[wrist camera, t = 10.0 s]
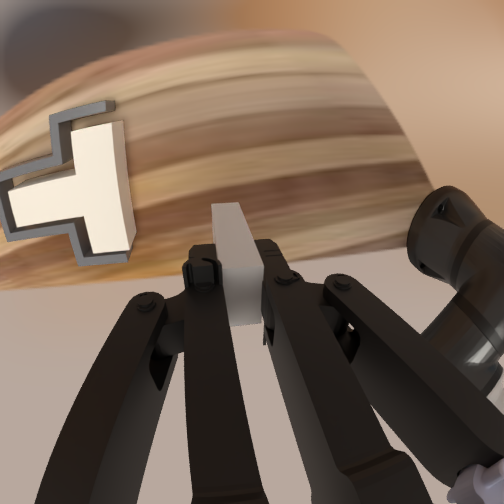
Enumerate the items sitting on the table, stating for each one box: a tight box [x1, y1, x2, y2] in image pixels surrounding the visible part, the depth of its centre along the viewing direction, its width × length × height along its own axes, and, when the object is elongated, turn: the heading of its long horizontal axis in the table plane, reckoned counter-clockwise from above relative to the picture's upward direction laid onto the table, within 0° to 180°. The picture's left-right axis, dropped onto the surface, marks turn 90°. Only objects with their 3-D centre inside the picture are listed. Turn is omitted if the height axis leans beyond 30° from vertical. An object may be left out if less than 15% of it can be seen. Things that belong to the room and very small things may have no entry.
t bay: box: [0, 101, 133, 266], centre depth 22 cm, size 16×16×3 cm
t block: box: [8, 120, 137, 253], centre depth 22 cm, size 13×12×4 cm
